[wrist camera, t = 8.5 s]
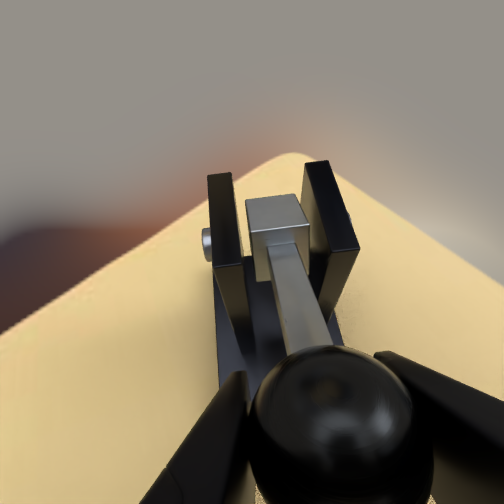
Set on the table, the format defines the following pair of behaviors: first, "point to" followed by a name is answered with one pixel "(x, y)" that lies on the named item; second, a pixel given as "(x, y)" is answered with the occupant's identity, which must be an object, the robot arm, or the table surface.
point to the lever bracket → (261, 293)
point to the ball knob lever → (325, 393)
